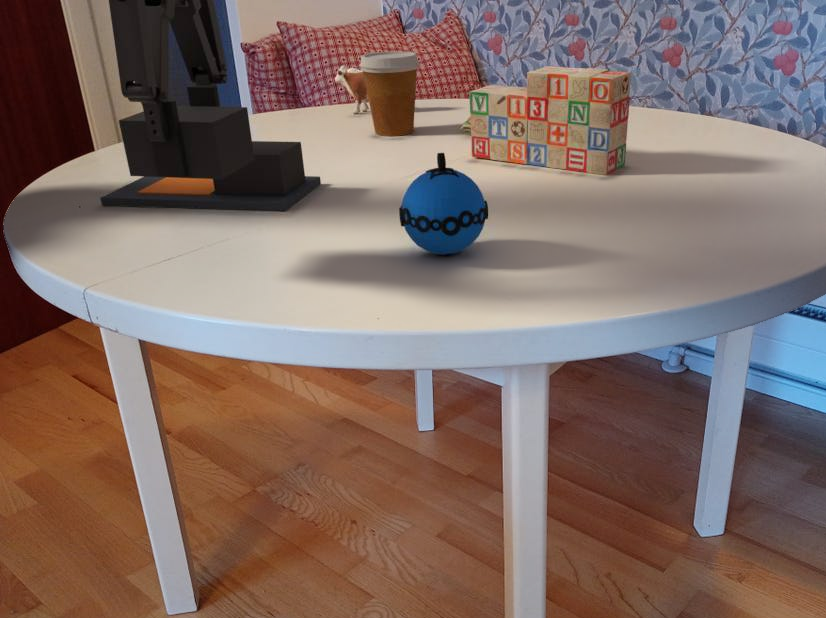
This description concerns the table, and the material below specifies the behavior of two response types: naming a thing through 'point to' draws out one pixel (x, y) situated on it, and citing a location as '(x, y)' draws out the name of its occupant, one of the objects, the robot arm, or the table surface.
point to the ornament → (443, 210)
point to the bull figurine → (354, 85)
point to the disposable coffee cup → (391, 90)
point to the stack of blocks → (555, 120)
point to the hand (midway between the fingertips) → (193, 164)
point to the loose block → (195, 141)
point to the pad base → (204, 201)
